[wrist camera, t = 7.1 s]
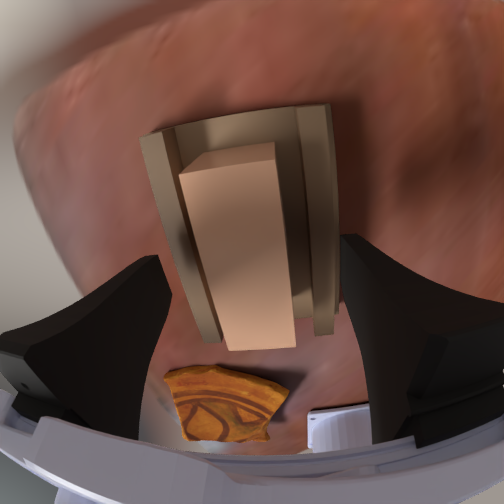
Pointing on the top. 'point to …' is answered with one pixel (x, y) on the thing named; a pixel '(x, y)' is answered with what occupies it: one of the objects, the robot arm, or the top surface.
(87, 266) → the top surface
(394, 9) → the top surface
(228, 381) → the pottery fragment
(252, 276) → the clay strip
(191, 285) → the grey u-channel
